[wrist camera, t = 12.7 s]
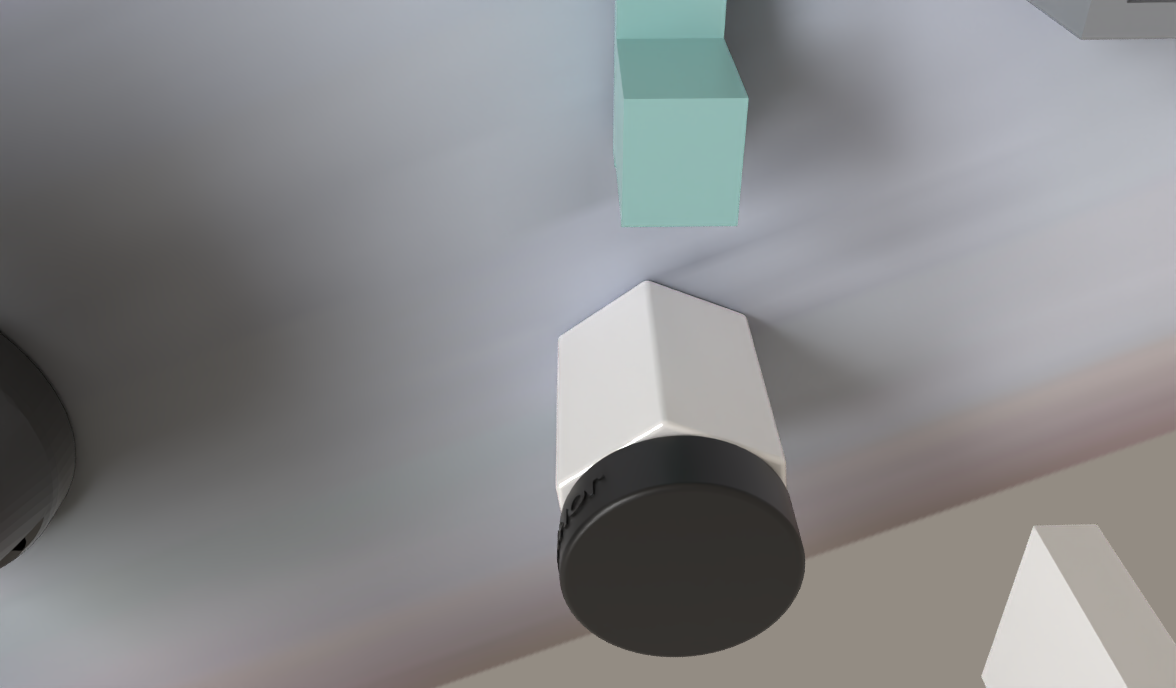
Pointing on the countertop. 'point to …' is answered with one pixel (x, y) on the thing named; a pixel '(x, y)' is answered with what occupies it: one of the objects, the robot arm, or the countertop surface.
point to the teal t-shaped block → (676, 115)
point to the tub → (1113, 18)
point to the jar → (671, 478)
